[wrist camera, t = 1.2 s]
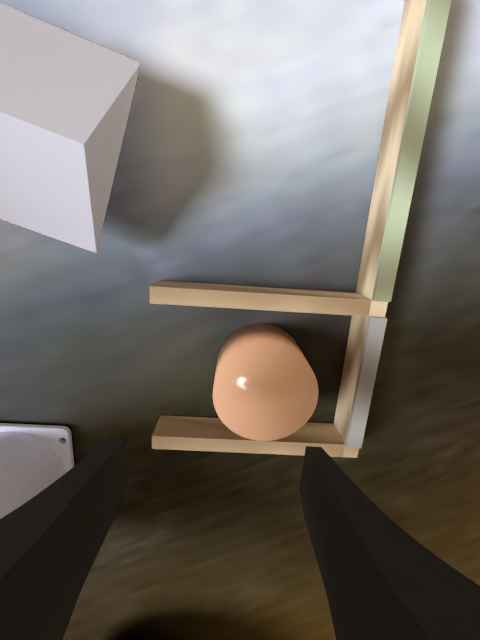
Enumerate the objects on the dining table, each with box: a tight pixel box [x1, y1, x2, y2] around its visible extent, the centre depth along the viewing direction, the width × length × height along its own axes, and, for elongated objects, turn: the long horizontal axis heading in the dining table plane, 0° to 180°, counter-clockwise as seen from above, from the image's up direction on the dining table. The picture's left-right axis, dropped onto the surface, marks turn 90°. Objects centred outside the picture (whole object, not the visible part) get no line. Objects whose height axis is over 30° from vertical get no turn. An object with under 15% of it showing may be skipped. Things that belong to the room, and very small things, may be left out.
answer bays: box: [150, 0, 452, 458], centre depth 18 cm, size 28×14×3 cm, turn 176°
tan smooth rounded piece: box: [213, 323, 318, 441], centre depth 19 cm, size 6×6×4 cm
